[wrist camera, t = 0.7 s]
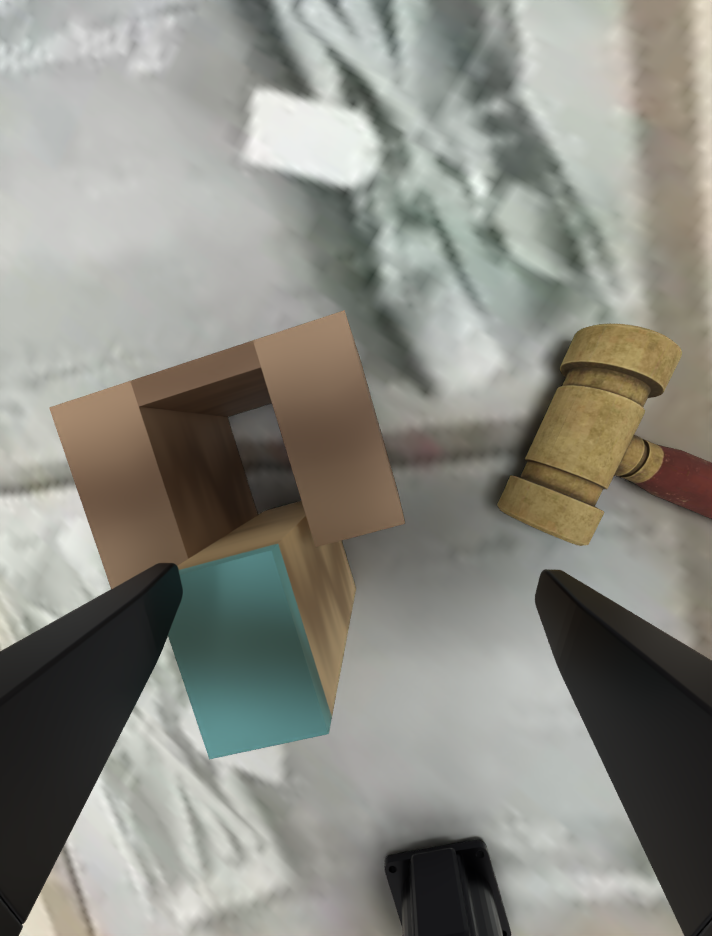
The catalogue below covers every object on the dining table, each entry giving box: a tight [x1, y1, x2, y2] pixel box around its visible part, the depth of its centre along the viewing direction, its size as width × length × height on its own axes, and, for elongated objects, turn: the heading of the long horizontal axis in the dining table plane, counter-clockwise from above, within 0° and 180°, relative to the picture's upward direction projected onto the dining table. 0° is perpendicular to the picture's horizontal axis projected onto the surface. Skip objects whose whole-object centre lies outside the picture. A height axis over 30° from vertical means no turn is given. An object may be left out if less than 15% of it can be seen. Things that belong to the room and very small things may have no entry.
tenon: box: [168, 501, 356, 759], centre depth 17 cm, size 6×4×11 cm, turn 16°
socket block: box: [50, 311, 405, 589], centre depth 18 cm, size 8×12×8 cm, turn 106°
